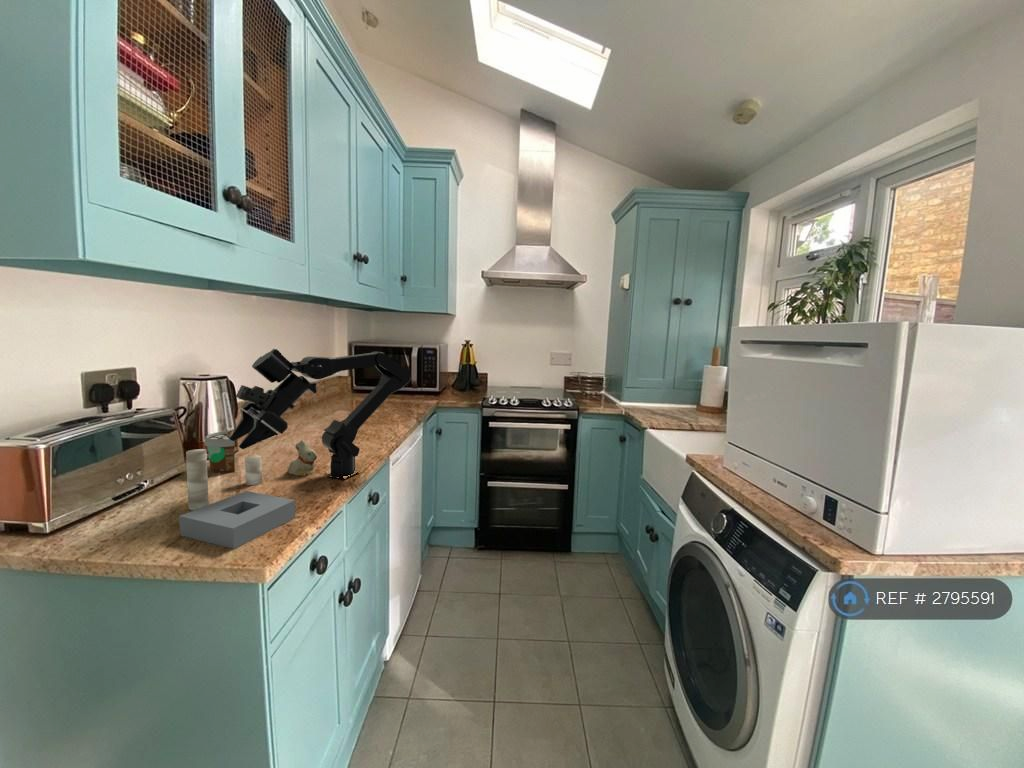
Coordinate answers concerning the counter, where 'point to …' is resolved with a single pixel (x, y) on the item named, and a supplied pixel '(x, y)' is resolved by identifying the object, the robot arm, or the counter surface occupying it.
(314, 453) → the chocolate bunny
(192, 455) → the long pin
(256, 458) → the short pin
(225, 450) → the food container
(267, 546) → the counter surface
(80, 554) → the counter surface
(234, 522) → the socket block
